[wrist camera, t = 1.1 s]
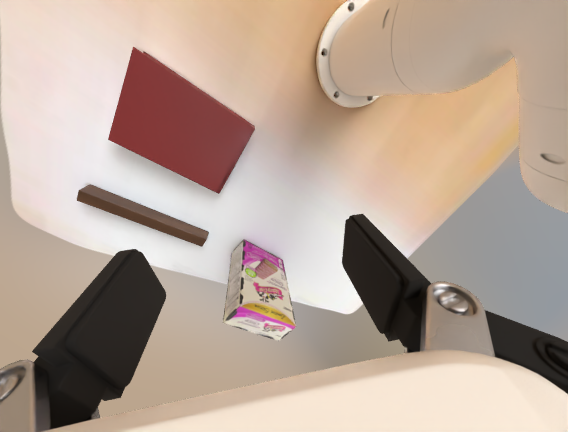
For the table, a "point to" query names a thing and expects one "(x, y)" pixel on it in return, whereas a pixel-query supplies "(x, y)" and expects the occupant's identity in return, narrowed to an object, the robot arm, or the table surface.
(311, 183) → the table surface
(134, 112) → the book
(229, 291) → the candy bar box
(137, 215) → the rail
